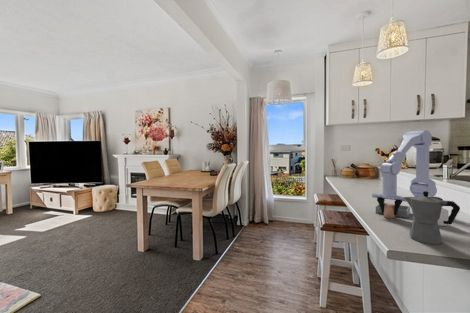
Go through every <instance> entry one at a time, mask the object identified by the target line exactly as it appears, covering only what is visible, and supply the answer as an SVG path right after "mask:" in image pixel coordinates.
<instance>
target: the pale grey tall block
mask: <svg viewBox="0 0 470 313" xmlns="http://www.w3.org/2000/svg"><path fill="white" fill-rule="evenodd" d="M428 197H432V198H435V199H439V200H443V198H441V197H438V196H434V197H433V196H428ZM443 207H444V206H442V209H441V214H440V218H439V219H438V225H439V227H440V226H442V227H443V226H444V227H448V226H449V224H444V223H443V221H448V219H449V210H448V209H445V208H443Z"/></svg>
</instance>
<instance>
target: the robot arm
mask: <svg viewBox="0 0 470 313" xmlns="http://www.w3.org/2000/svg"><path fill="white" fill-rule="evenodd" d="M432 138H433V137H432V133H431V132H430V131H429V130H428V129H423V130H413V131H406V132H404V134H403V135H402V142H401V144H400V146H399V147H398V149H397V150H396V151H393V152H392V154H391V155H390V156H389V157H388V159H387V160H386V162H383V163H382V164H380V167H379V171H380V174H381V177H382V193H372V194H371V197H372V199H376V201H377V203H378V204H379V205H380V207H381V211H382V213H384V203H385V200H392V201H394V204H395V212H394V215H397V212H398V209H399V206H400V205H402V203H403V202H406V203H408V202H407V201H406V200H405V199H404V197H405V196H402V195H397V191H398V190H397V185H398V184H397V183H398V182H397V181H398V178H397V177H398V175H399V174H400V172H401V168H402V164H403V162H404V161H405V160H406V157H407V156H406V153H407V152H408V151H409V150H410V149H411V148H412V147H414V148H415V150H416V152H415V153H416V154H415V156H416V157H415V158H416V159H415V164H416V165H415V166H416V168H415V178H413V179H411V181H410V185H409V191H410V193H411V195H413V197H419V196H424V194H423V192H424V191H427V192H429V193H428V196H433V197H436V195H437V193H438V189H437V186H436V185H437V184H436V182H435V181H434V180H433V179H432V178H430V147H431V146H432V142H433V141H432Z"/></svg>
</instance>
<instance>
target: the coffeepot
mask: <svg viewBox="0 0 470 313" xmlns="http://www.w3.org/2000/svg"><path fill="white" fill-rule="evenodd" d="M428 193H429V192H427V191H424V192H423V194H424V196H419V197H414V196H403V197H404V199H405V200H406V201H407V202H406V203H408V205H409V207H410V209H411V213H412V216H413V220H412V223H411V228H410V231H409V237H410V238H411V239H412V240H414V241H416V242H419V243H423V244H428V245H436V246H437V245H441V244H443V239H442V235H441V230H440V226H439V225H438V219H439V218H440V214H441V209H442V208H443V207H451V208H452V209H451V211H450V214H449V215H448V221H443V223H444V224H448V225H452V224H453V223H454V222H455V219H456V218H457V216H458V214H459V212H460V210H461V207H460V206H459V205H458V204H457V203H456V202H455V201H453V200H445V199H444V200H439V199H435V198H432V197H428ZM442 206H443V207H442Z"/></svg>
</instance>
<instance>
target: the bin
mask: <svg viewBox="0 0 470 313" xmlns="http://www.w3.org/2000/svg"><path fill="white" fill-rule="evenodd" d="M384 204H388V203H387V202H384ZM391 204H392V205H395V203H394V204H393V203H391ZM375 213H376V214H379V215H384V213H382V211H381V207H380V205H379V203H378V204H377V205H376V206H375ZM410 214H411V207H410V205H409V206H408V205H402V204H401V205H400V206H399V209H398V212H397V215H395V217H397V218H403V219H408V217H409V216H410Z"/></svg>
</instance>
